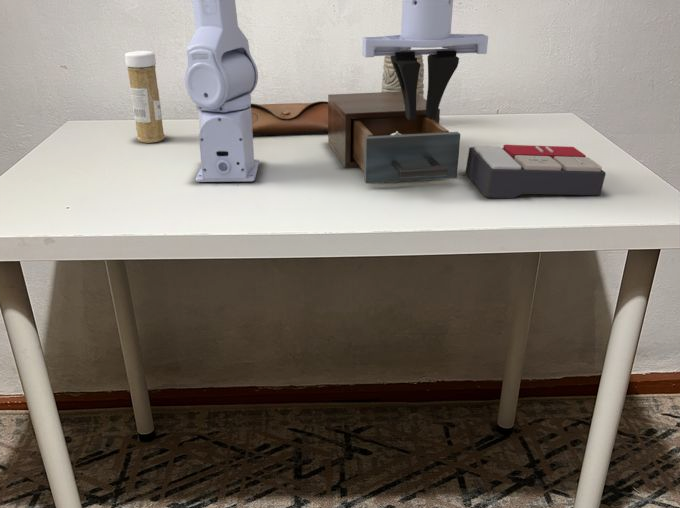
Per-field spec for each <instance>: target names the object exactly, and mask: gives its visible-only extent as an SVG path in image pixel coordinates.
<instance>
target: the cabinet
mask: <svg viewBox="0 0 680 508" xmlns="http://www.w3.org/2000/svg"><path fill="white" fill-rule="evenodd" d="M423 97H424V96H423ZM423 97H421V96H420V95H418V94H417V93H416V116H425V115H426V102H427V98H423ZM327 102H328V132H327V137H328V138H327V143H328V145H329V147H330V149H331V150H332V151H333V153H334V154H335V155H336V158H337V159H338V160H339V161H340V163H341V164H342V166H343V167H344V169H350V168H351V169H353V168H361V167H360V166H359V165H358V163H357V162H356V161H355V160H354V158H353V157H352V156H351V140H352V119H363V118H384V117H404V116H406V114H405V105H404V99H403V94H402V91H400V92H382V91H379V92H378V91H377V92H357V93H335V94H333V93H331V94H328V95H327ZM440 114H441V109H440V108H438V111H437V115H436V119H433V120H435V121H436V122H437V123H439V124H440V117H441V115H440Z"/></svg>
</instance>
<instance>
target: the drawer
mask: <svg viewBox="0 0 680 508" xmlns="http://www.w3.org/2000/svg"><path fill="white" fill-rule="evenodd" d="M396 131H397V132H398V133H400V134H402V135H391V134H393V133H396ZM460 143H461V133H460V132H459V131H449V130H448V129H447V128H446V127H444V126H443V125H441V124H440V122H439V123H437V122H436V121H435V120H430V119H429V118H428V117H427V116H426V115H425V116H416V117H415V120H408V119H407V118H406V116H404V117H384V118H363V119H352V140H351V156H352V157H353V158H354V160H355V161H356V162H357V163H358V165H359V166H360V167H359V168H360V169H361V170H362V171H363V182H364V184H366V185H368V184H382V183H398V182H413V181H430V180H431V181H432V180H446V179H448V180H449V179H458V178H457V177H458V168H459V167H458V166H459V154H460V145H461V144H460Z"/></svg>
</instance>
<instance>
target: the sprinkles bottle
mask: <svg viewBox="0 0 680 508" xmlns="http://www.w3.org/2000/svg"><path fill="white" fill-rule="evenodd" d="M124 59H125V60H124V61H125V66H126V70H127V72H128V79H129V90H130V96H131V98H130V99H131V105H132V110H133V117H134V121H135V127H136V133H137V136H136V140H137V141H138V142H139V143H143V144H153V143H160V142H162V141H164V140H165V138H166V136H165V132H164V125H163V114H162V108H161V100H160V92H159V91H160V90H159V87H158V80H157V79H158V78H157V71H156V67H157V66H156V65H157V62H156V61H157V60H156V54H155V52H154V51H151V50H133V51H129V52H126V53H125V54H124Z"/></svg>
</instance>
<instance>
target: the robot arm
mask: <svg viewBox="0 0 680 508" xmlns="http://www.w3.org/2000/svg"><path fill="white" fill-rule="evenodd" d="M401 1H402V2H401V3H402V4H401V22H400V23H401V25H400V28H401V29H400V34H396V35H395V34H394V35H383V36H381V35H380V36H365V37H362V45H361V46H362V47H361V49H362V53H361V54H362V56H363V57H365V58H374V57H385V56H391V62H392V64H393V67H394V69H395V72H396V74H397V77H398V80H399V83H400V86H401V90H402V94H403V99H404V105H405V114H406V118H407V119H408V120H415V117H416V92H417V83H418V76H419V70H420V65H421V64H420V63H419V62H417V57H416V58H415V55H422V56H423V55H427V56H426V57H427V93H426V100H427V102H426V116H427V117H428V118H429V119H430V120H433V119H436V115H437V111H438V108H439V107H440V104H441V101H442V98H443V96H444V93H445V91H446V88H447V86H448V84H449V82H450V80H451V78H452V76H453V75H454V73H455V71H456V70H457V69H458V66H459V63H460V58H459V57H458V56H457V55H458V54H459V55H460V54H477V55H478V54H479V55H486V54H487V53H488V42H489V35H486V34H483V33H478V34H477V33H452V23H453V22H452V21H453V11H454V10H453V9H454V0H401ZM191 3H192V11H193V18H194V27H195V31H194V34H193V35H192V37H191V39H190V41H189V43H188V45H187V48H186V56H187V57H186V58H187V66H186V70H185V74H184V85H185V86H184V87H185V90H186V92H187V95H188V97H189V98H190V99H191V101H192V102H193V103H194V104H195V107H196V111H197V115H198V126H199V132H198V144H199V154H200V165H201V167H200V169H199V170H198V173H197V175H196V177H195V182H197V183H225V182H227V183H229V182H230V183H231V182H233V183H234V182H235V183H236V182H239V183H240V182H241V183H242V182H246V183H247V182H254V181H255V179H256V176H257V173H258V170H259V165H260V160H259V159H258V158H255V153H254V152H255V151H254V135H253V132H252V115H251V104H252V93H253V92H254V91H255V89H256V87H257V84H258V81H259V71H258V67H257V64H256V62H255V60H254V58H253V56H252V54H251V50H250V44H249V40H248V38H247V37H246V35H245V34H244V32H243V31H242V30H241V28H240V27H239V23H238V14H237V5H236V0H191ZM412 48H413V49H412ZM414 48H416V49H414ZM417 48H419V49H417ZM420 48H421V49H420ZM439 109H440V108H439Z"/></svg>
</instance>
